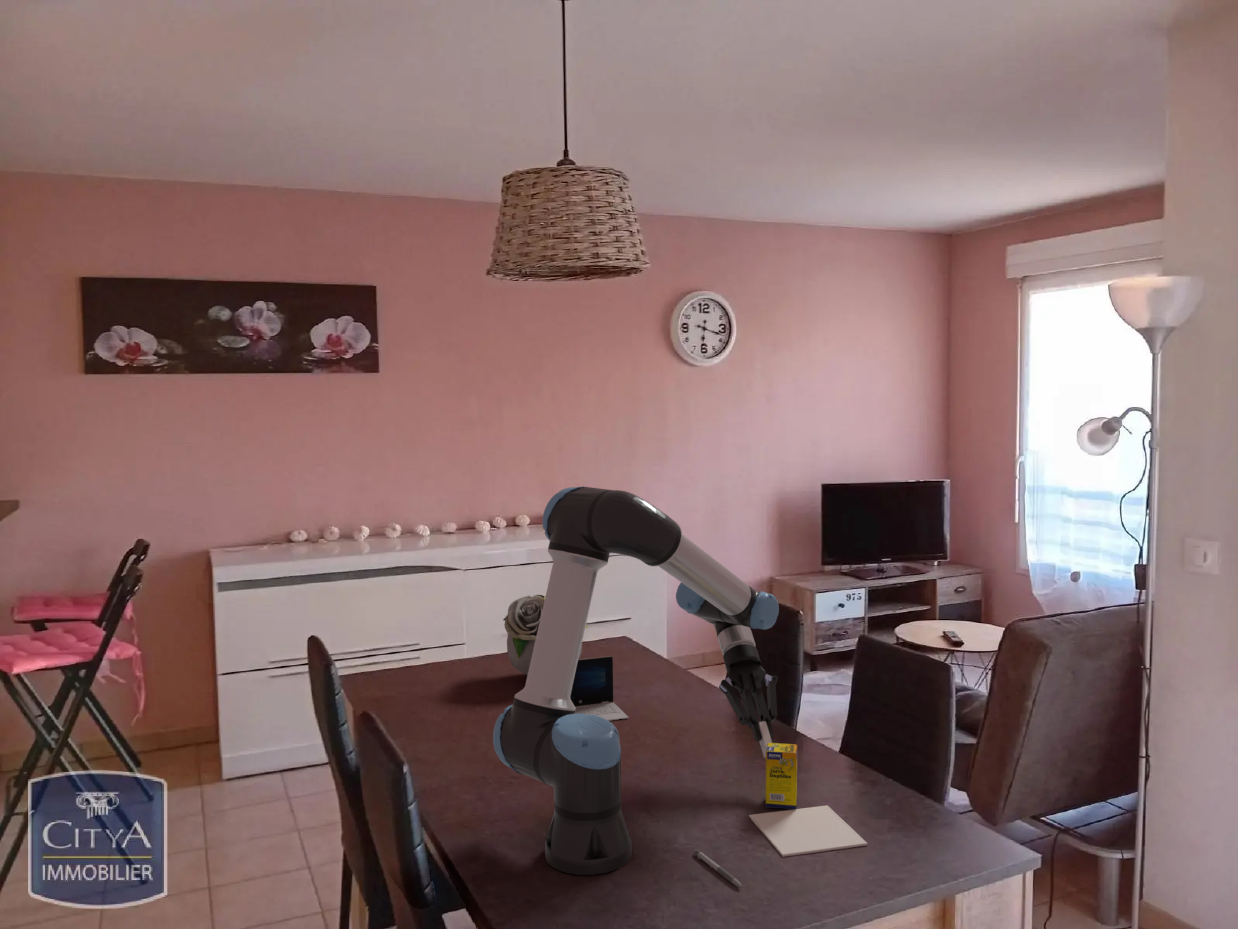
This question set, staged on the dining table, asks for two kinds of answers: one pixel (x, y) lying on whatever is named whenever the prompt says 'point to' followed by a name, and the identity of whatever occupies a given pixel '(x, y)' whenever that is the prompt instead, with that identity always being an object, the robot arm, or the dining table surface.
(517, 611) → the flower arrangement
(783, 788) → the supplement box
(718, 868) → the pen
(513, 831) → the dining table surface
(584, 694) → the laptop
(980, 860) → the dining table surface
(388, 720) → the dining table surface
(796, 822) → the mat
